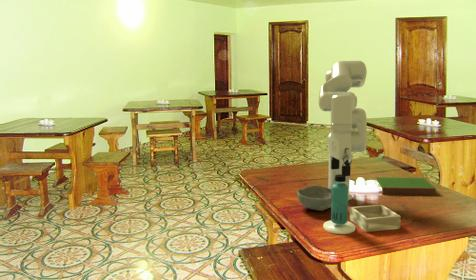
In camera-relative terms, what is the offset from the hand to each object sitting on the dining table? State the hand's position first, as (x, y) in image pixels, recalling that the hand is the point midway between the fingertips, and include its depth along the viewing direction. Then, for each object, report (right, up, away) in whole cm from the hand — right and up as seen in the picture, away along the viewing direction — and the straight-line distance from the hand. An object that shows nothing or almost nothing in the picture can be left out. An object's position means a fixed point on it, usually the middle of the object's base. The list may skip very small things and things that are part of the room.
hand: (340, 172), depth 160 cm
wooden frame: (+15, -21, +7) cm, 26 cm away
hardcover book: (+44, -13, +51) cm, 69 cm away
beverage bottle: (0, -21, +4) cm, 21 cm away
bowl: (-4, -18, +26) cm, 32 cm away
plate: (0, -22, +3) cm, 22 cm away
